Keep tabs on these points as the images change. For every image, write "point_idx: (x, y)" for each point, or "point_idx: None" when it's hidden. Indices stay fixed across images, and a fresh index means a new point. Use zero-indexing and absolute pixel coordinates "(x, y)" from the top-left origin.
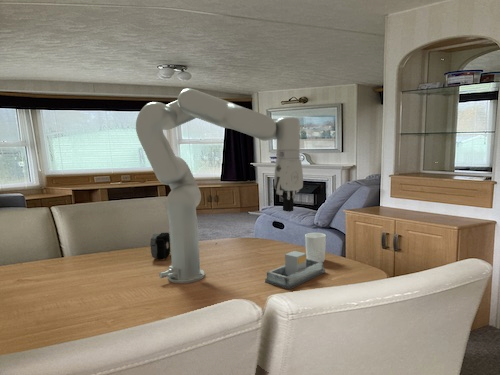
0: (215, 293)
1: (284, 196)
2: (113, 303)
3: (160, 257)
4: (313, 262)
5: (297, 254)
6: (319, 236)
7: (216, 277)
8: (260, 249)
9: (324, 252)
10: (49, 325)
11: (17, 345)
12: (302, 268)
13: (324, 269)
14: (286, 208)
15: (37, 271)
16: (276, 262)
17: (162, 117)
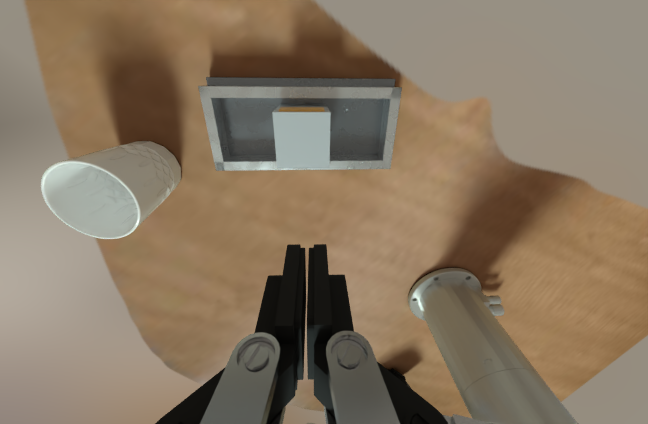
0: (490, 200)
1: (405, 391)
2: (585, 284)
3: (400, 374)
4: (217, 122)
5: (304, 131)
6: (67, 202)
7: (415, 258)
8: (214, 312)
9: (117, 146)
10: None
11: None
12: (299, 106)
13: (207, 79)
14: (343, 278)
15: None
16: (254, 233)
17: None
